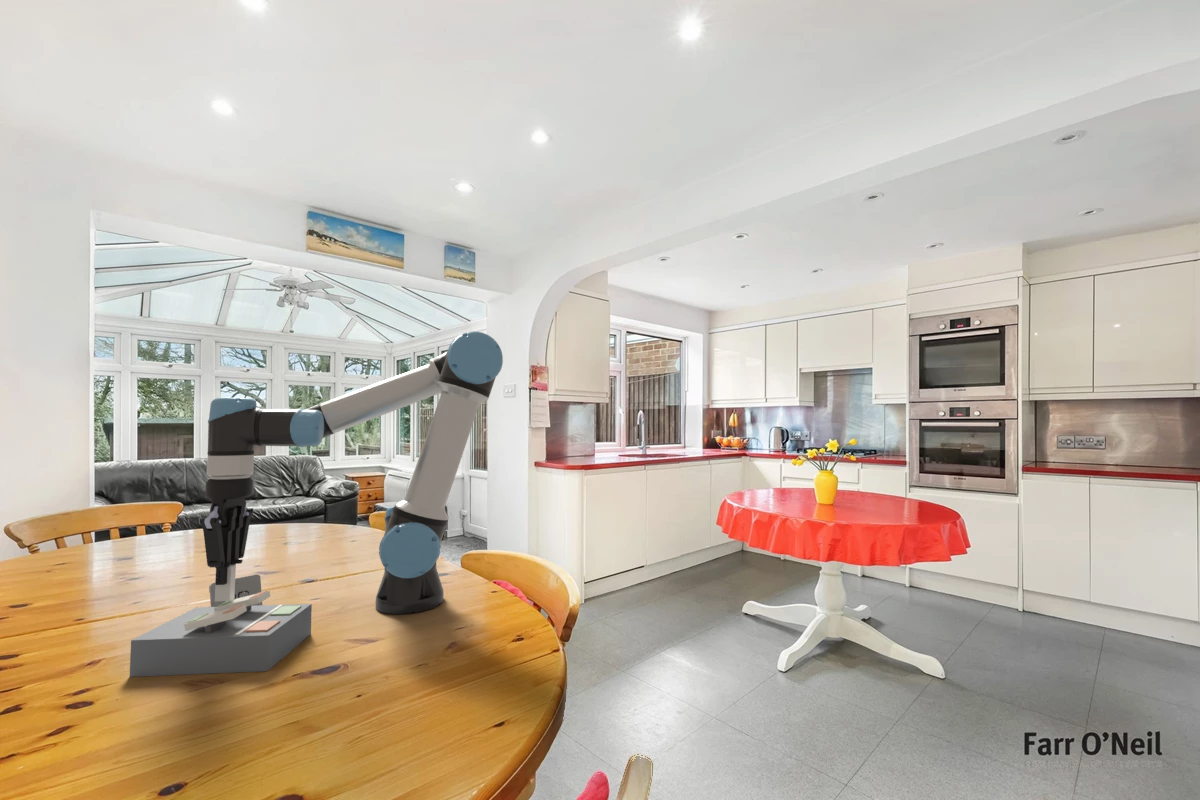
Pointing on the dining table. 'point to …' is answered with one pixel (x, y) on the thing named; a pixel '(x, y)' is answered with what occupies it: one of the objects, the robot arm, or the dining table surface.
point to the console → (221, 642)
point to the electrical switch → (240, 589)
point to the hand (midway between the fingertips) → (224, 599)
